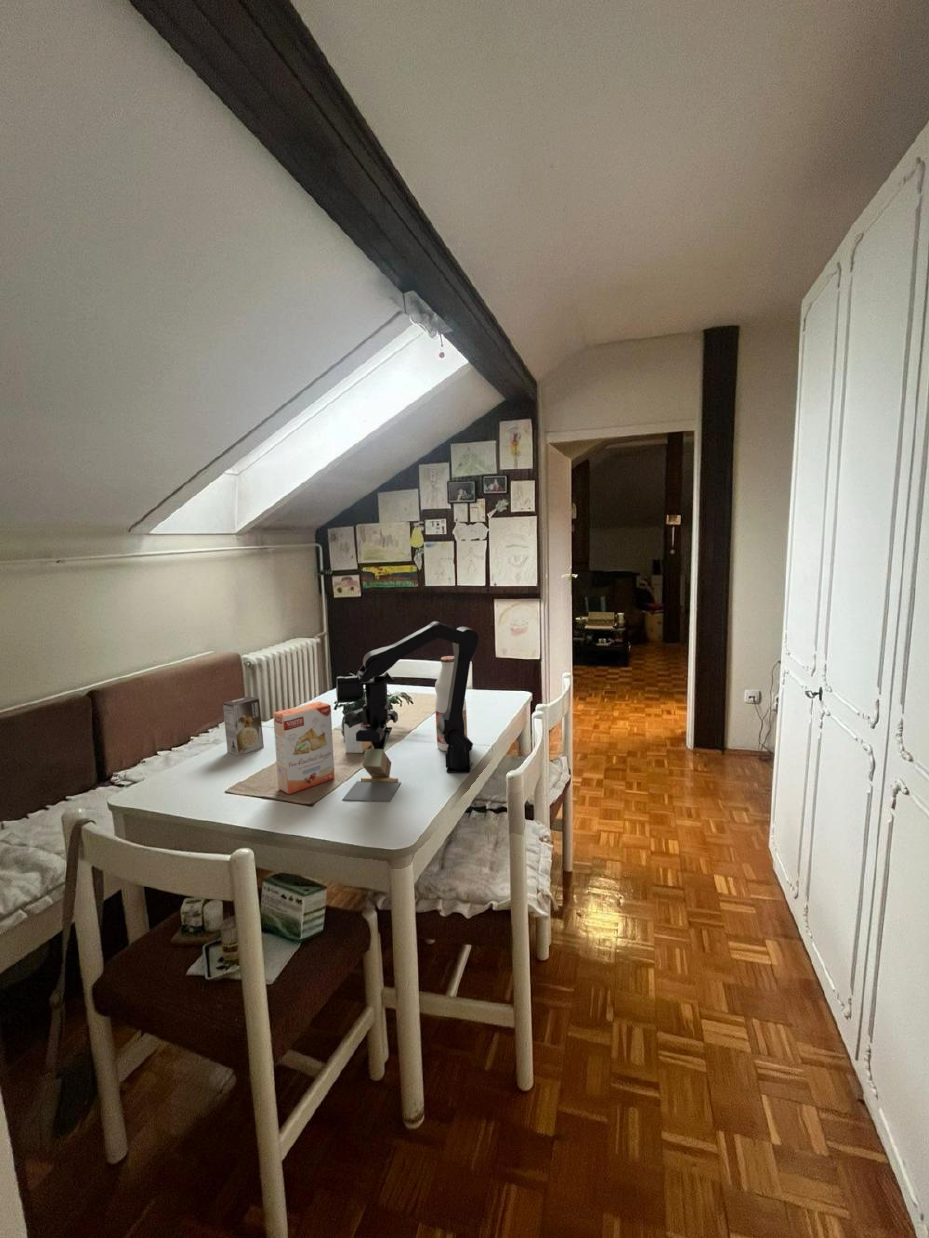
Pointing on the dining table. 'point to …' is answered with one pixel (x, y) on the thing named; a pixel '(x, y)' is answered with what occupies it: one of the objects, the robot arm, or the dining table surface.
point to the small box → (354, 739)
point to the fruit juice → (445, 697)
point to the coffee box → (243, 725)
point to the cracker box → (303, 746)
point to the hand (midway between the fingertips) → (379, 756)
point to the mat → (372, 791)
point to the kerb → (379, 779)
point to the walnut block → (377, 763)
